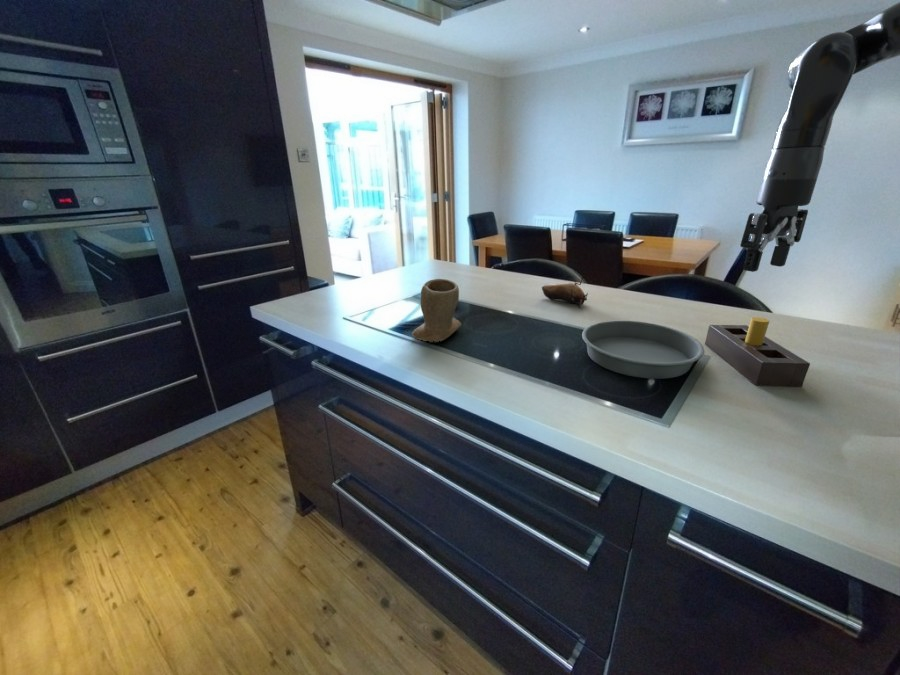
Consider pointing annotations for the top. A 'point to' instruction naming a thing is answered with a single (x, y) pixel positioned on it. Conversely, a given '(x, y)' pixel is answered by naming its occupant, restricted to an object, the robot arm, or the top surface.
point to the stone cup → (438, 310)
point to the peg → (757, 331)
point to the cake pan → (641, 349)
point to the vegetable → (565, 292)
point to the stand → (757, 357)
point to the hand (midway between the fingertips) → (763, 268)
